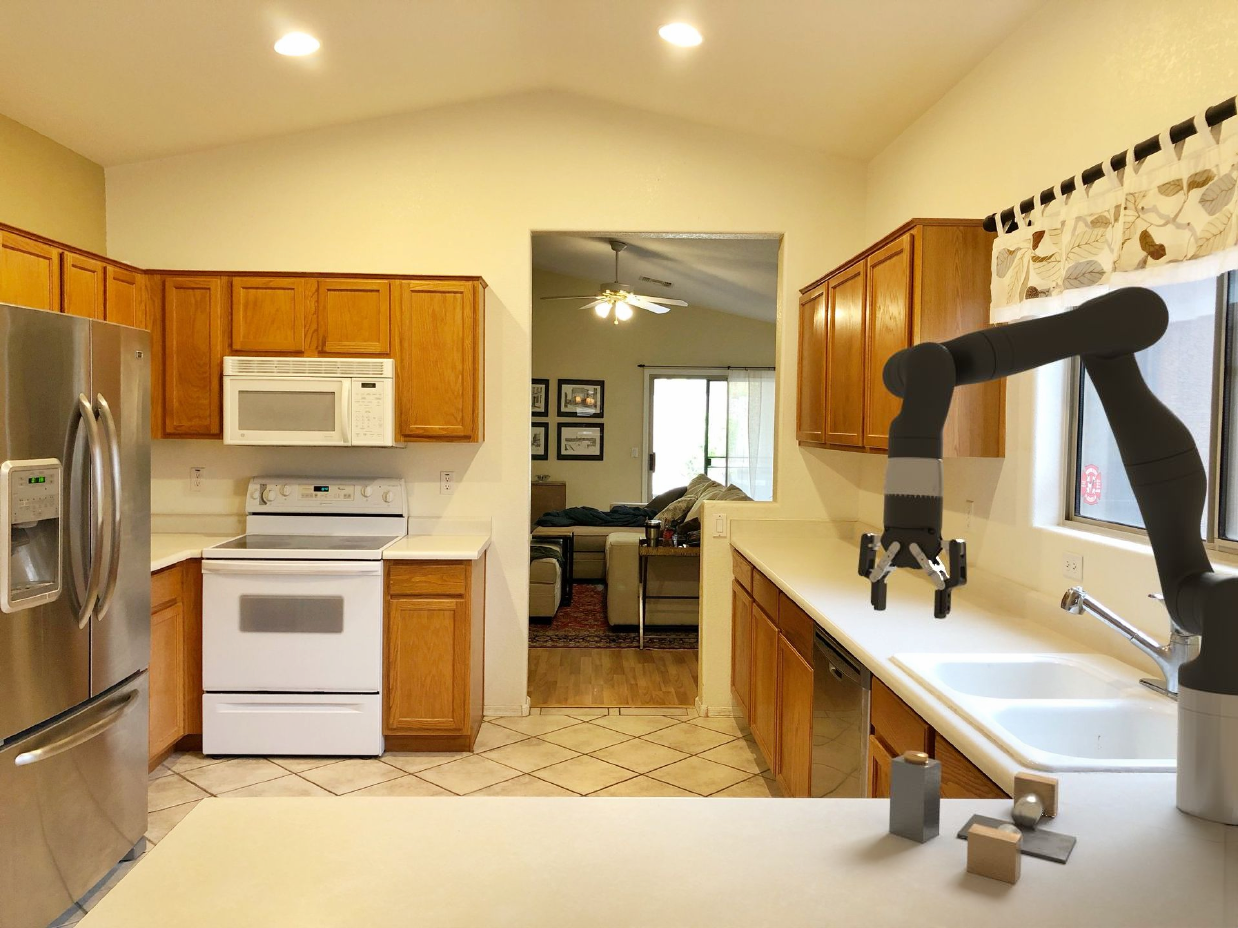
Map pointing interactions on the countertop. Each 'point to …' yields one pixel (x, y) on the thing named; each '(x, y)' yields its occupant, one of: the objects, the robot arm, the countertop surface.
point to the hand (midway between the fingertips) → (908, 614)
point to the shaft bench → (1016, 832)
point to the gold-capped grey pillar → (915, 796)
